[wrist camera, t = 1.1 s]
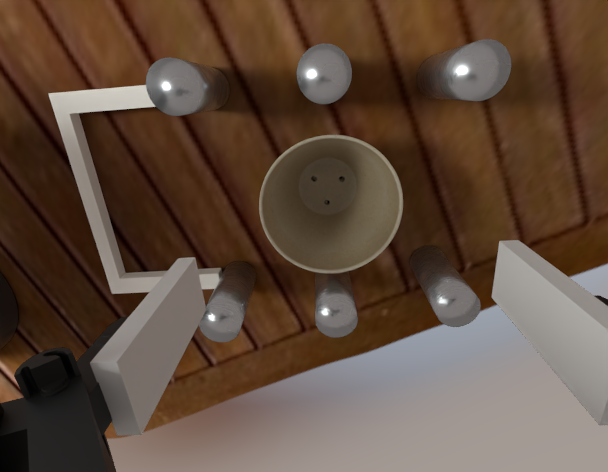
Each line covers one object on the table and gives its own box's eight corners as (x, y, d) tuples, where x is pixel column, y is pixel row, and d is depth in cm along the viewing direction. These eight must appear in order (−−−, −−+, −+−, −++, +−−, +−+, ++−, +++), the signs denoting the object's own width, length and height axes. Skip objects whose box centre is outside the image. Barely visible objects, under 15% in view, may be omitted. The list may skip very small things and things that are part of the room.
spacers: (226, 290, 36) (203, 343, 28) (186, 68, 28) (140, 59, 21) (442, 279, 34) (477, 331, 27) (460, 44, 27) (516, 26, 19)
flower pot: (407, 190, 31) (432, 217, 25) (320, 257, 34) (321, 297, 27) (335, 98, 29) (341, 100, 22) (247, 178, 31) (228, 202, 25)
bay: (118, 287, 36) (112, 293, 35) (58, 93, 29) (48, 93, 28) (223, 282, 35) (220, 288, 34) (187, 82, 28) (182, 82, 27)
